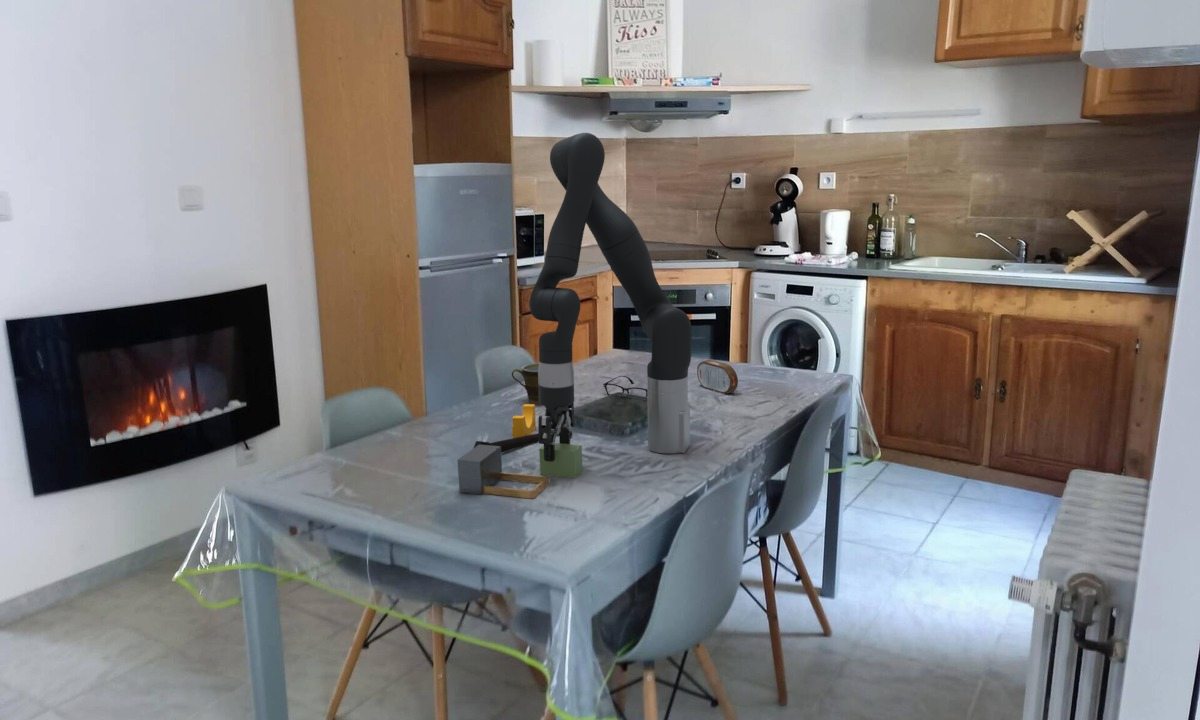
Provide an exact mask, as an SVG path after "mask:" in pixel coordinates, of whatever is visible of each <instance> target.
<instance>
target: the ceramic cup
mask: <svg viewBox="0 0 1200 720" xmlns="http://www.w3.org/2000/svg"><path fill="white" fill-rule="evenodd" d="M538 369H539V362H538V363H530V364H526V365H523V366H522V367H521V369H519V368H515V369H514V370H512V371H511V377H512V379H514V380H515V381H516V382H518V383H519V384H520V385H521V386H522V387H523V388H524V389H525V390H526V395H527V399H528V404H535V406H542V405H541V404H540V403H539V388H538ZM515 372H517V373H520V374H521V376H522V378H523V380H524V384H523V383H522V381H520V380H519V379H518V378H516V377H515V376H514V373H515Z"/></svg>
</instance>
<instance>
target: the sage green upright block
mask: <svg viewBox="0 0 1200 720" xmlns="http://www.w3.org/2000/svg"><path fill="white" fill-rule="evenodd" d="M554 444H555V460H554V461H553V462H549V461H545V460H544V444H542V446H541V447H539V449H538V450H539V451H538V453H539V470H540V471H539V472H540V473H539V474H540V475H539V476H546V477H556V476H559V477H558V478H566V477H568V478H569V479H577V477H578V476H580V474H581V473H583V470H584V469H583V445H582V444H573V443H570V444H562V443H560V442H555V443H554Z"/></svg>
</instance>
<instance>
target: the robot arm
mask: <svg viewBox="0 0 1200 720" xmlns="http://www.w3.org/2000/svg"><path fill="white" fill-rule="evenodd" d="M549 152H550V153H549V163H550V166H551V169H552V172H553V173H554V175H555V177H556V178H557V180H558V181H559V183H560V184H561V186H562V188H563V189H564V190H565V194H564V198H563V201H562V202H561V205H560V208H559V210H558V212H557V215H556V217H555V219H554V221H553V224H552V225H551V228H550V231H549V235H548V239H547V244H546V250H545V251H546V252H545V258H544V263H543V266H542V268H541V271H540V273H539V275H538V278H537V280H536V281H535V283H534V287H533V288H532V291H531V293H530V297H529V302H528V306H529V310H530V314H531V315H532V316H533V318H535V319H536V320H539V321H545V322H553V323H554V322H557V327H556V328H555V331H554V330H553V331H547V332H543V333H542V334H541V335H540V336H539V338H538V359H539V360H538V363H539V369H538V388H539V403H540V404H541V405H540V406H543V407H544V408H545V414H544V415H538V419H537V420H538V421H537V422H538V423H537V424H538V429H537V430H538V444H540V445H541V444H542V445H544V460H545V461H549V462H553V461H554V460H555V444H554V443H556V440H557V439H556V438H557V435H559V436H558V438H559V442H558V443H562V444H571V438H570V433H569V432H571V431H572V428H575V423H576V422H575V369H574V363H573V361H574V360H573V342H574V341H573V340H574V335H575V332H576V327H577V323H578V321H579V316H580V312H581V307H582V306H581V299H580V297H579V294H578V292H577V291H576V290H574V289H572V288H569V287H568V288H566V287H557V286H558V284H559V283H560V282H561V281H563V280H565V279H572V278H574V277H575V276H576V275H577V273H578V268H579V263H580V256H581V250H582V243H583V238H584V232H585V228H586V226H587V227H588V229H589V231H590V232H591V234H592V236H593V238H594V239H595V241H596V243H597V246H598V248H599V249H600V251H601V253H602V255H603V257H604V258H605V260H606V262H607V264H608V266H609V267H610V268H611V270H612V272H613V274H614V276H615V277H616V279H617V280H618V281H619V283H620V285H621V286H622V288H623V289H624V290H625V293H626V294H627V295H628V298H629V299H630V301H631V303H632V306H633V307H634V310H635V313H636V315H637V317H638V320H639V322H640V324H641V328H642V330H643V332H644V333H645V335H646V336H647V338H648V339H650V341H651V358H650V359H651V360H650V361H649V362H648V363H647V367H646V373H647V374H646V382H647V387H646V389H647V398H646V400H647V448H648V450H650V452H651V451H652V452H653V453H654V452H655V453H658V454H677V453H682V454H683V453H686V451H687V450H688V448H689V447H690V446H691V406H690V405H689V404H688V403H689V399H688V397H689V391H688V390H689V385H688V383H689V382H688V380H689V377H688V375H689V367H690V365H691V360H692V343H693V342H692V341H693V340H692V338H693V335H692V334H693V333H692V331H693V330H692V322H691V320H690V317H689V316H688V315H687V313H686V312H684V311H683V310H682V309H679V308H677V307H676V306H675V305H673V304H672V303H671V301H670V300H669V298H668V297H667V295H666V294H665V293H664V291H663V289H662V288H661V285H660V284H659V283H658V280H657V278H656V275H655V271H654V267H653V263H652V258H651V255H650V251H649V249H648V247H647V244H646V242H645V240H644V239H643V236H642V235H641V233H640V231H639V229H638V227H637V225H636V223H634V221H633V219H632V218H631V217H630V216H628V214H627V213H626V212H625V211H624V210H623V209H622V208H621V207H619V206H618V204H616V203H614V202H613V201H612V200H611V198H609V197H608V196H607V195H606V193H605V192H604V191H603V190H602V188H601V186H600V184H599V180H600V178H601V173H602V171H603V167H604V164H605V160H606V159H605V158H606V157H605V156H606V155H605V153H606V152H605V149H604V145H603V143H602V141H601V140H600V139H599V137H597V136H596V135H595V134H592V133H589V132H580V133H577V134H574V135H572V136H568V137H566V138H563V139H562V140H559V141H557V142H556V143H554V144H553V146H552V147H551V149H550V151H549ZM560 431H561V432H560ZM559 432H560V433H559ZM543 433H544V434H543ZM551 435H552V437H551Z"/></svg>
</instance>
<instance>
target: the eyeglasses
mask: <svg viewBox="0 0 1200 720" xmlns="http://www.w3.org/2000/svg"><path fill="white" fill-rule="evenodd" d="M621 377H622V378H623V377H624V378H626V379H627V380H628V381H629V382H630V385H634V384H635V382H634V381H633V380H632V378H630V377H629V376H626V375H619V376H616V377H615V378H613V379H610V380H609V381H607V382H605V383H603V384H602V386H603V387H604V390H605V391H606V392H605V393H606V394H607V396H609V395H610V393H609V391H608V388H607V386H615V387H617V388H621V390H622V393H625V391H626V392H627V395H628V394H630V392H629V391H630V390H643V391H645V398H646V397H647V388H644V387H643V388H642V387H634V386H633V387H627V388H626V387H623V386H622V385H619V384H616V383H611V382H612V381H614V380H616V379H617V378H621ZM622 393H621V394H622Z"/></svg>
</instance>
